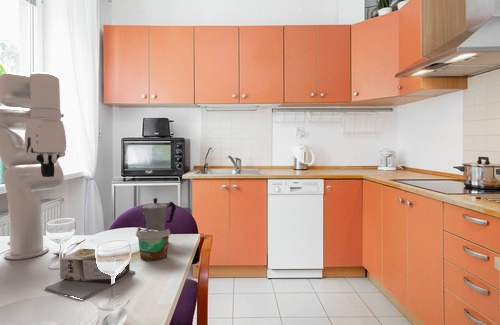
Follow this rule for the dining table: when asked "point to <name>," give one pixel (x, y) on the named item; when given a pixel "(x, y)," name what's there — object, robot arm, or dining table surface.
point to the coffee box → (85, 267)
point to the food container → (153, 244)
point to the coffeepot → (157, 214)
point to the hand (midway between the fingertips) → (48, 176)
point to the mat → (81, 287)
